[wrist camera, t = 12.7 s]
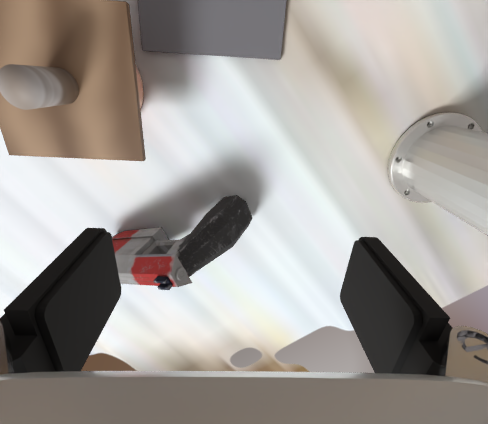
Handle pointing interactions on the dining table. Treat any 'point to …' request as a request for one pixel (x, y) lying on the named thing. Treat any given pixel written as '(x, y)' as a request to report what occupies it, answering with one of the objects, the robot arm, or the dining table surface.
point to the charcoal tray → (213, 27)
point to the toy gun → (179, 247)
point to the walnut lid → (69, 80)
